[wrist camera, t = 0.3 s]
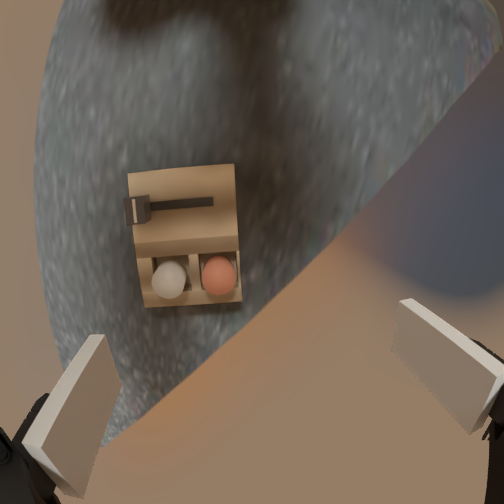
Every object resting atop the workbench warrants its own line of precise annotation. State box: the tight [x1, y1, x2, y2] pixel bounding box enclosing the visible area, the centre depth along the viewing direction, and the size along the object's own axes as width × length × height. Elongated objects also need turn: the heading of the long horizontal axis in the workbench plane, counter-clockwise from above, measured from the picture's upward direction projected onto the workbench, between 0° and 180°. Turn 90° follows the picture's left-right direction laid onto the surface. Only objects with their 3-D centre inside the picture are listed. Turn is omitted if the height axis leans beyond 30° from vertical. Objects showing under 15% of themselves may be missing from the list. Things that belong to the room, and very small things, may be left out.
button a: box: [202, 255, 236, 295], centre depth 33 cm, size 4×4×3 cm
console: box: [128, 164, 242, 308], centre depth 35 cm, size 16×12×4 cm
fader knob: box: [124, 195, 152, 225], centre depth 30 cm, size 3×2×3 cm
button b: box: [152, 259, 187, 299], centre depth 32 cm, size 4×4×3 cm
